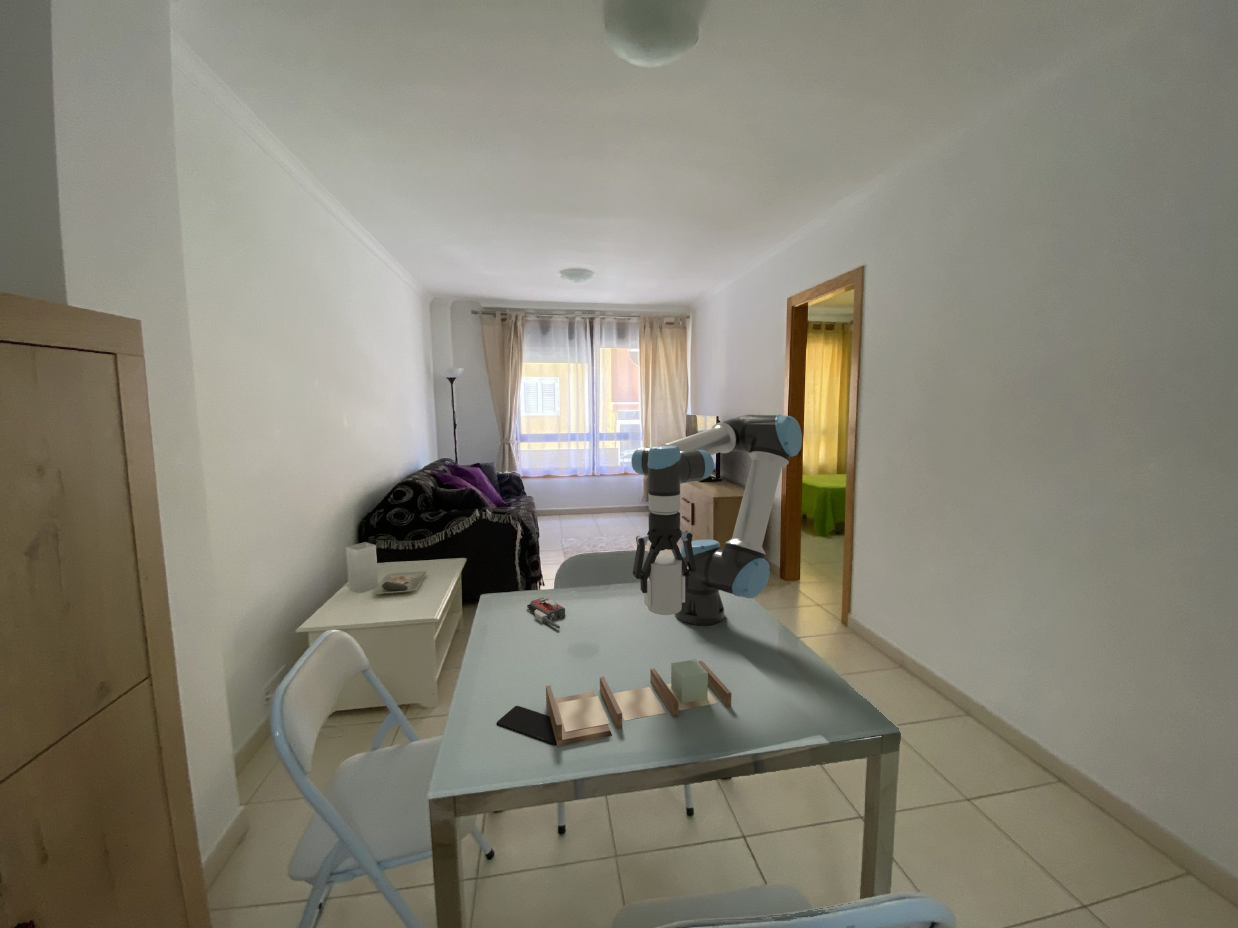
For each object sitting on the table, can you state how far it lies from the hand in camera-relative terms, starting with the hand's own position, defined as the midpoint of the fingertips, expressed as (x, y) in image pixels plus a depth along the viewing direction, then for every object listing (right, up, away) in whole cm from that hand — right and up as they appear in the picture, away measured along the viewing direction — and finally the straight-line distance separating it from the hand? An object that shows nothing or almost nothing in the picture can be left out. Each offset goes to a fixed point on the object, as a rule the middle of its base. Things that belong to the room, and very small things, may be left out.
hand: (664, 602), depth 123 cm
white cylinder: (0, -2, 0) cm, 2 cm away
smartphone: (-28, -20, -20) cm, 40 cm away
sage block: (+4, -17, -12) cm, 21 cm away
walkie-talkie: (-32, -14, +32) cm, 48 cm away
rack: (-7, -19, -15) cm, 25 cm away
